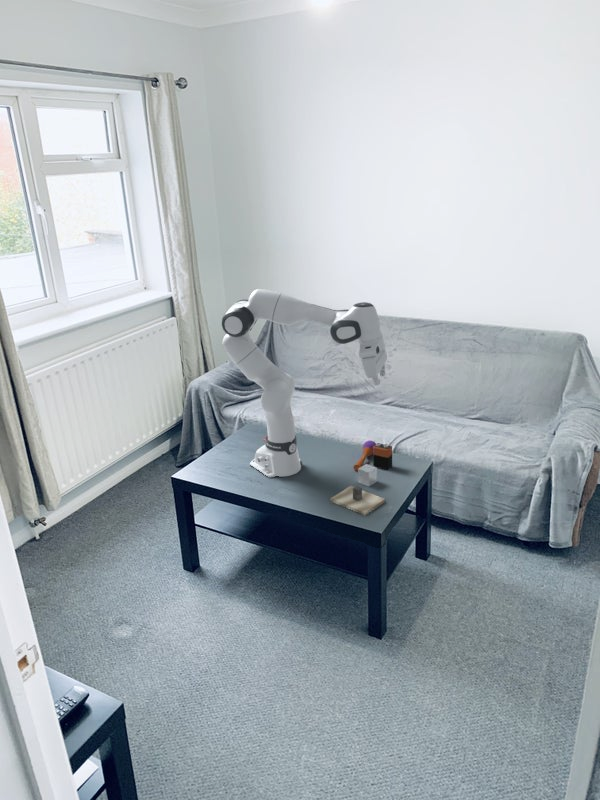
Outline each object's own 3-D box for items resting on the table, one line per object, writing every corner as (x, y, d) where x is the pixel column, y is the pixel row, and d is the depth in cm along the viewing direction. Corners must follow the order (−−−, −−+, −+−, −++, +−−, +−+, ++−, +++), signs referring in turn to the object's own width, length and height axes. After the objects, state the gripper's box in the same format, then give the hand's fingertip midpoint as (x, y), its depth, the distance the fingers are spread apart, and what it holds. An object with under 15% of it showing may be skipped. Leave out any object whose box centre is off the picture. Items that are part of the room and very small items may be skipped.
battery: (388, 470, 247) (387, 448, 244) (372, 467, 251) (372, 444, 247) (392, 466, 251) (392, 443, 247) (377, 462, 254) (377, 440, 251)
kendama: (348, 461, 248) (364, 438, 264) (352, 474, 250) (367, 450, 266) (362, 461, 245) (377, 437, 261) (366, 474, 247) (380, 450, 264)
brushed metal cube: (358, 482, 239) (358, 468, 237) (366, 477, 243) (366, 463, 241) (369, 486, 236) (368, 472, 234) (377, 481, 239) (377, 467, 237)
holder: (330, 501, 227) (329, 487, 225) (350, 488, 235) (350, 475, 233) (365, 515, 217) (364, 501, 215) (385, 501, 225) (385, 488, 223)
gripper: (370, 338, 237) (378, 371, 241) (357, 355, 219) (366, 391, 224) (386, 335, 234) (394, 369, 239) (374, 353, 217) (382, 389, 221)
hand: (380, 380), depth 231 cm, fingers open, 8 cm apart
